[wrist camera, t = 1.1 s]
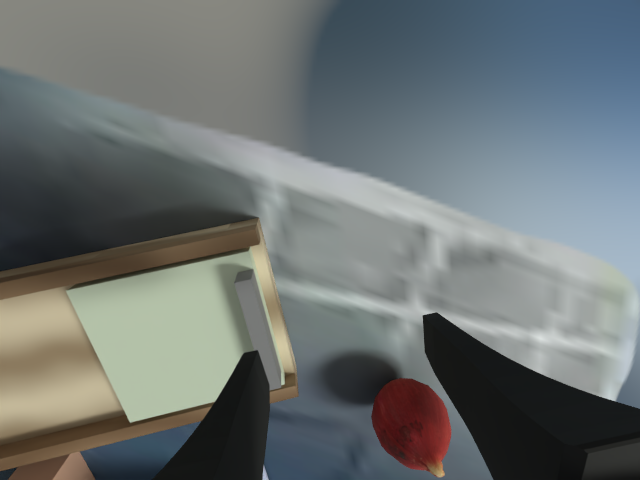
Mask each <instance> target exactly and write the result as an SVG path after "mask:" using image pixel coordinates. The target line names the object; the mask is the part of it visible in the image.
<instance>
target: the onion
mask: <svg viewBox="0 0 640 480" xmlns="http://www.w3.org/2000/svg"><path fill="white" fill-rule="evenodd" d="M371 417H372V423H373V428H374V430H375V432H376V435H377V437H378V439H379V441H380V443H381V446H382V447H383V448H384V449H385V450H386V452H387V453H389V454H390V455H391V456H393V457H394V458H395V459H396V460H398V461H399V462H400V463H402V464H403V465H405V466H406V467H408V468H411V469H416V470H426V471H429V472H431V473H432V474H433V475H434V476H436V477H442V476H444V471H443V469H442V467H443V466H442V462H441V461H442V460H443V458H444V456H445V455H446V453H447V450H448V447H449V442H450V438H451V426H450V422H449V417H448V413H447V409H446V407H445V405H444V403H443V401H442V400H441V399H440V398H439V396H438V395H437V394H436V393H435V392H434V391H433V390H432V389H431V388H430V387H429V386H428V385H425V384H423V383H420V382H418V381H416V380H414V379H405V378H399V379H395V380H392V381H390V382H389V383H387V384H386V385H384V386H383V388H382V389H381V390H380V392H379V393H378V394H377V396H376V397H375V400H374V405H373V410H372V416H371Z"/></svg>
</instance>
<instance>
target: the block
mask: <svg viewBox="0 0 640 480" xmlns="http://www.w3.org/2000/svg"><path fill="white" fill-rule="evenodd" d="M8 480H95V478H94V476H93V474H92V473H91V471H90V469H89V467H88V466H87V464H86V462H85V460H84V459H83V457H82V455H81V454H80V452H75V453H71V454H67V455H63V456H59V457H55V458H51V459H47V460H43V461H39V462H35V463H31V464H27V465H23V466H19V467H18V468H17V469H16V470H15V471H14V473H13V474H12V475H11V476H10V478H9V479H8Z"/></svg>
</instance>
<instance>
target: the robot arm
mask: <svg viewBox="0 0 640 480" xmlns="http://www.w3.org/2000/svg"><path fill="white" fill-rule="evenodd" d="M423 327H424V344H425V353H426V355H427V358H428V360H429V362H430V364H431V367H432V369H433V371H434V373H435V375H436V376H437V378H438V380H439V382H440V383H441V385H442V386H443V388H444V390H445V391H446V393H447V395H448V396H449V398H450V400H451V401H452V403H453V404H454V406H455V408H456V409H457V411H458V413H459V414H460V416H461V417H462V419H463V421H464V422H465V424H466V426H467V428H468V429H469V431H470V433H471V435H472V437H473V439H474V441H475V443H476V445H477V447H478V449H479V451H480V453H481V455H482V457H483V459H484V461H485V463H486V465H487V467H488V469H489V471H490V473H491V475H492V477H493V479H494V480H640V409H638V408H635V407H632V406H628V405H625V404H621V403H618V402H615V401H611V400H608V399H605V398H602V397H599V396H596V395H593V394H590V393H587V392H585V391H582V390H579V389H576V388H574V387H571V386H568V385H566V384H563V383H561V382H558V381H556V380H553V379H551V378H549V377H546V376H544V375H542V374H539V373H537V372H535V371H533V370H531V369H529V368H527V367H525V366H523V365H521V364H519V363H517V362H515V361H513V360H511V359H509V358H507V357H505V356H503V355H501V354H500V353H498V352H496V351H495V350H493V349H491V348H489V347H488V346H486V345H484V344H483V343H481V342H480V341H478V340H476V339H475V338H473V337H472V336H470V335H469V334H467V333H466V332H464V331H463V330H461V329H460V328H458V327H457V326H455V325H454V324H453V323H451V322H450V321H448V320H447V319H445V318H444V317H442V316H441V315H440V314H438V313H432V314H427V315H423ZM269 411H270V385H269V382H268V379H267V376H266V373H265V370H264V367H263V364H262V361H261V358H260V355H259V352H258V350H255V351H250V352H245V353H243V355H242V356H241V358H240V360H239V362H238V364H237V365H236V367H235V369H234V371H233V373H232V374H231V376H230V378H229V379H228V381H227V383H226V385H225V386H224V388H223V389H222V391H221V393H220V394H219V396H218V398H217V399H216V401H215V402H214V404H213V405H212V407H211V408H210V410H209V411H208V413H207V414H206V416H205V417H204V419H203V420H202V421H201V423H200V424H199V426H198V427H197V428H196V430H195V431H194V432H193V434H192V435H191V436H190V437H189V439H188V440H187V441H186V442H185V444H184V445H183V446H182V447H181V448H180V450H179V451H178V452H177V453H176V454H175V455H174V456H173V458H172V459H171V460H170V461H169V462H168V463H167V464H166V465H165V467H164V468H163V469H162V470H161V471H160V472H159V473H158V474H157V475H156V476H155V477H154V478H153V479H152V480H269V479H268V476H267V473H266V470H265V467H264V458H265V449H266V440H267V431H268V421H269Z"/></svg>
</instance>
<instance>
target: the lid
mask: <svg viewBox="0 0 640 480" xmlns="http://www.w3.org/2000/svg"><path fill="white" fill-rule="evenodd" d="M66 292H67V295H68V297H69V299H70V301H71V303H72V305H73V307H74V309H75V311H76V313H77V315H78V317H79V319H80V321H81V323H82V325H83V327H84V329H85V331H86V333H87V336H88V338H89V340H90V342H91V344H92V346H93V348H94V350H95V352H96V354H97V356H98V358H99V360H100V362H101V364H102V366H103V368H104V370H105V372H106V374H107V377H108V379H109V381H110V383H111V385H112V387H113V389H114V391H115V393H116V395H117V397H118V399H119V401H120V403H121V405H122V407H123V409H124V411H125V413H126V415H127V418H128V420H129V422H130V423H131V422H135V421H139V420H143V419H147V418H151V417H155V416H159V415H163V414H167V413H171V412H175V411H179V410H183V409H187V408H191V407H195V406H199V405H203V404H208V403H212V402H215V401H216V399H217V398H218V396H219V394H220V393H221V391H222V389H223V388H224V386H225V385H226V383H227V381H228V379H229V378H230V376H231V374H232V373H233V371H234V369H235V367H236V365H237V364H238V362H239V360H240V358H241V356H242V355H243V353H245V352H250V351H255V350H258V352H259V355H260V358H261V361H262V364H263V367H264V370H265V373H266V376H267V379H268V382H269V385H270V390H274V389H278V388H281V385H284V384H285V373H284V369H283V365H282V362H281V358H280V354H279V350H278V347H277V343H276V339H275V336H274V332H273V328H272V324H271V321H270V317H269V313H268V310H267V306H266V302H265V298H264V295H263V291H262V287H261V283H260V280H259V276H258V272H257V269H256V265H255V261H254V257H253V254H252V250H251V247H246V248H241V249H237V250H232V251H227V252H223V253H218V254H213V255H208V256H204V257H199V258H194V259H190V260H185V261H180V262H176V263H171V264H166V265H162V266H157V267H152V268H148V269H143V270H138V271H134V272H129V273H124V274H120V275H115V276H110V277H106V278H101V279H96V280H92V281H87V282H82V283H78V284H75V285H74V286H72V287H71V288H69V289H68V290H66Z"/></svg>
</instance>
